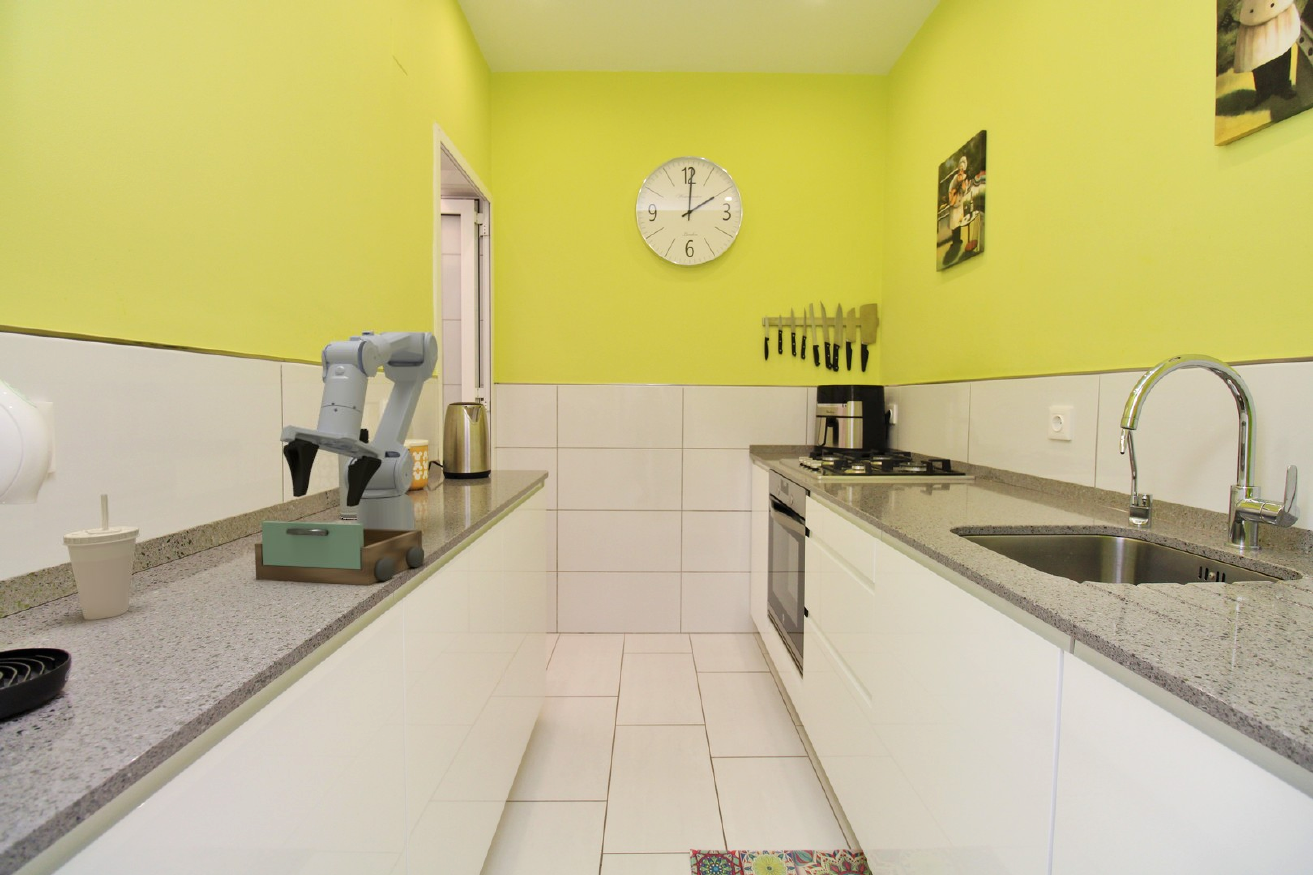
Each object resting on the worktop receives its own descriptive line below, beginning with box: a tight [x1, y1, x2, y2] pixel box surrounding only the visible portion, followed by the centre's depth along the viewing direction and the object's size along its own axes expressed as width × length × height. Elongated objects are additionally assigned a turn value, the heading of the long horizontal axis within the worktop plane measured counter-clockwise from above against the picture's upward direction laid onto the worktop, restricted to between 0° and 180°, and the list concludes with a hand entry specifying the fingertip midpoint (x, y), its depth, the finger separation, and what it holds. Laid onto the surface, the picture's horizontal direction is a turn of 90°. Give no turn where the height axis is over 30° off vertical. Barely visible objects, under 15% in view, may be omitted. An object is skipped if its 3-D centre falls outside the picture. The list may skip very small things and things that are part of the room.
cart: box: [254, 529, 425, 586], centre depth 84 cm, size 12×20×5 cm, turn 79°
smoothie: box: [62, 493, 140, 621], centre depth 66 cm, size 6×6×14 cm
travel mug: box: [337, 428, 370, 518], centre depth 129 cm, size 6×7×20 cm
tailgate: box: [261, 520, 364, 569], centre depth 78 cm, size 2×15×6 cm, turn 79°
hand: (327, 500), depth 82 cm, fingers open, 7 cm apart
